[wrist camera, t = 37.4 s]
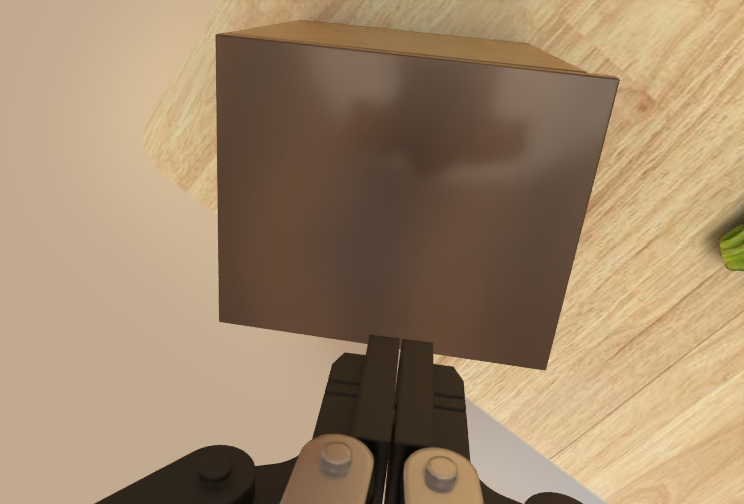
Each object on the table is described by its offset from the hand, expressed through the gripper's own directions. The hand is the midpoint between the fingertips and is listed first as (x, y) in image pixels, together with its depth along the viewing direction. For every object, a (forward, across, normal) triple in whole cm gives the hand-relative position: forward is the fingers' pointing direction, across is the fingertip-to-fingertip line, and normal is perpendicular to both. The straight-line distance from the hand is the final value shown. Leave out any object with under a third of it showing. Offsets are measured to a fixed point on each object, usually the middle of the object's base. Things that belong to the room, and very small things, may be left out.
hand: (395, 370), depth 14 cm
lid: (+11, +1, 0) cm, 11 cm away
